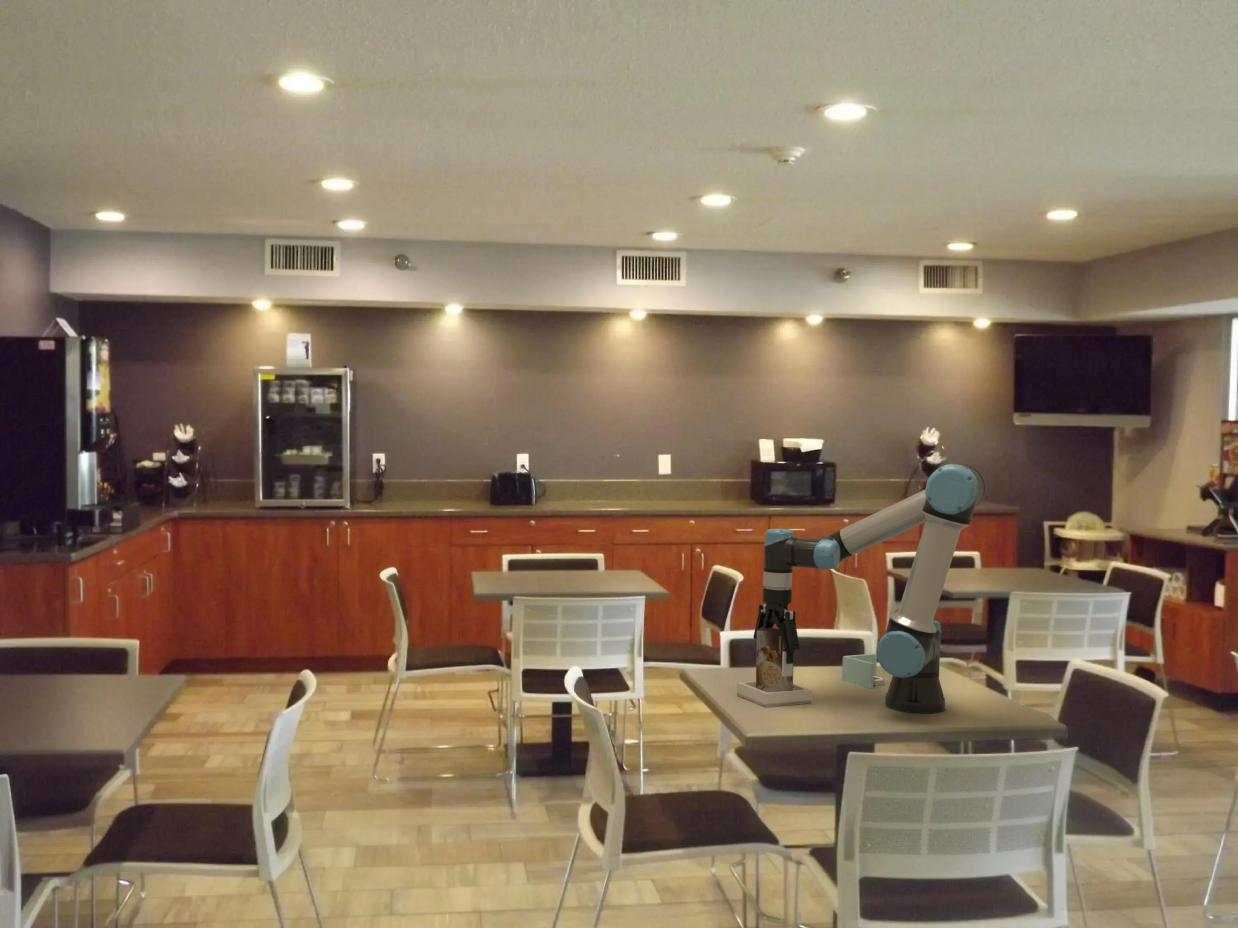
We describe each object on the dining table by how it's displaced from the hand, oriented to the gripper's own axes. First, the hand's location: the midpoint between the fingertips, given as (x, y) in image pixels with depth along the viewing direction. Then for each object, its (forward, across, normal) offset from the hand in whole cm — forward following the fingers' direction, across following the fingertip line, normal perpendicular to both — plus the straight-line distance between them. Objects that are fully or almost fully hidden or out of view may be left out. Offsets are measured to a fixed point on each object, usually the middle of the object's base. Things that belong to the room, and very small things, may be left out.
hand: (774, 671), depth 298 cm
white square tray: (+7, 0, 0) cm, 7 cm away
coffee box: (+5, 0, 0) cm, 5 cm away
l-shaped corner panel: (+8, +9, -39) cm, 41 cm away
